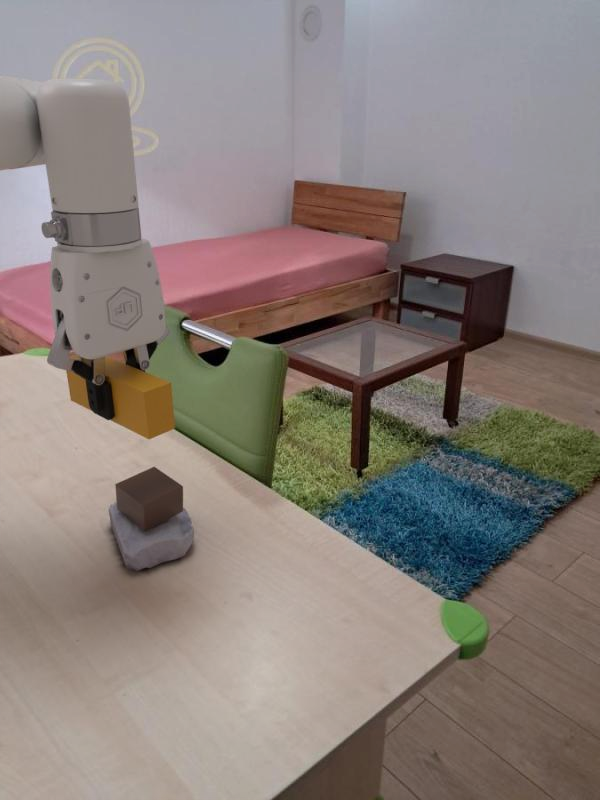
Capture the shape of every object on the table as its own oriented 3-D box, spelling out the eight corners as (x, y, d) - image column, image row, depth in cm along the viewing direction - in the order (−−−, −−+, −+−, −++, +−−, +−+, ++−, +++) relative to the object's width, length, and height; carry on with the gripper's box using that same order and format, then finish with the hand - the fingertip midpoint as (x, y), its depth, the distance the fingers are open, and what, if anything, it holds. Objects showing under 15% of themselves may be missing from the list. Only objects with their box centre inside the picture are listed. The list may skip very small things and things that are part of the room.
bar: (149, 439, 61) (143, 392, 59) (70, 400, 69) (63, 357, 67) (175, 428, 63) (171, 382, 61) (96, 391, 71) (90, 349, 69)
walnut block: (116, 509, 81) (115, 483, 80) (155, 490, 86) (154, 466, 84) (145, 531, 78) (143, 505, 76) (183, 511, 82) (183, 486, 80)
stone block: (174, 517, 91) (102, 523, 86) (178, 488, 89) (106, 493, 84) (201, 568, 81) (122, 579, 76) (207, 536, 79) (127, 545, 74)
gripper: (34, 247, 50) (67, 449, 58) (194, 223, 62) (204, 395, 69) (-10, 235, 55) (26, 425, 62) (147, 215, 66) (161, 377, 74)
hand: (119, 407), depth 66 cm, fingers closed on bar, 3 cm apart
